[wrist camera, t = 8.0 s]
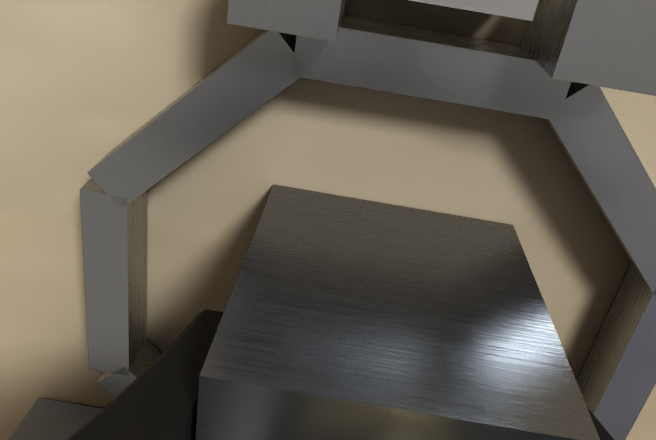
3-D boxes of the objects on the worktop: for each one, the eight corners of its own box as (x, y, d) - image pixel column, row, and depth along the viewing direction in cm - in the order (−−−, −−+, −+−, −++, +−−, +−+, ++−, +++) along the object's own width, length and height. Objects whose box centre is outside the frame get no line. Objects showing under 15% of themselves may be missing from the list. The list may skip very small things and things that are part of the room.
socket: (805, 7, 9) (911, 33, 7) (549, 518, 14) (572, 604, 13) (95, -114, 9) (24, -116, 7) (112, 445, 14) (74, 520, 13)
